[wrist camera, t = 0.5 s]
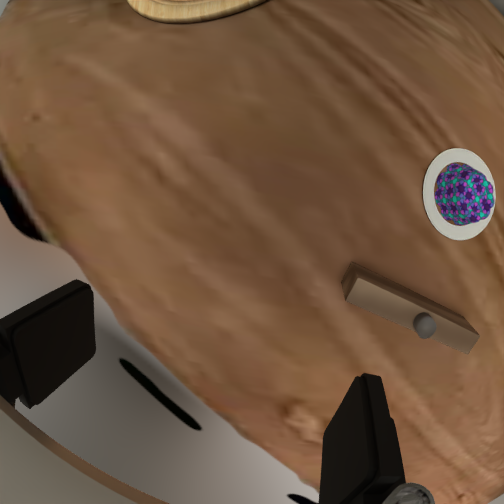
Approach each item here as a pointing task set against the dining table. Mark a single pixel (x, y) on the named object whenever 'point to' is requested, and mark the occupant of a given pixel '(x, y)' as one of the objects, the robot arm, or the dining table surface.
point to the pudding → (459, 194)
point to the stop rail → (407, 308)
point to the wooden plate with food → (189, 9)
